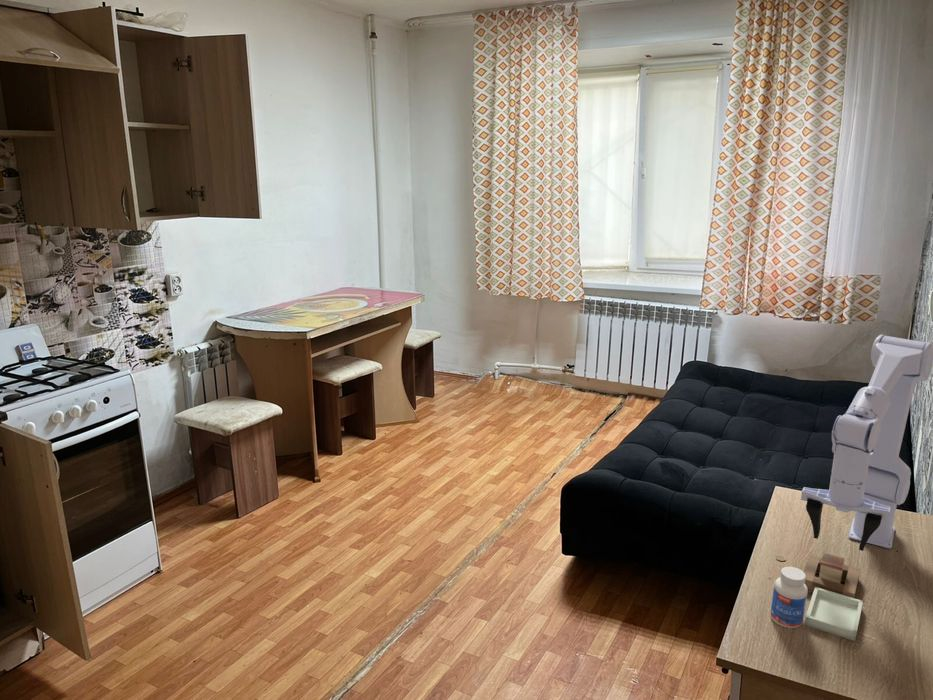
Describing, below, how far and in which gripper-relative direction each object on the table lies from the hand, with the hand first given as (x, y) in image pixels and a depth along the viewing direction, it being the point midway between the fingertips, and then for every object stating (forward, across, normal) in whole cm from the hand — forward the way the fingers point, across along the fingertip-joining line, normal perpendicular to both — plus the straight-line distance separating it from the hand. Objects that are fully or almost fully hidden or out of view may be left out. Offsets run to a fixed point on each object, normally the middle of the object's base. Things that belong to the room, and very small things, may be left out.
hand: (838, 541), depth 134 cm
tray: (+9, +2, -10) cm, 14 cm away
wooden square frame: (+9, 0, 0) cm, 9 cm away
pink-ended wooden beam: (+9, 0, -1) cm, 9 cm away
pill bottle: (+10, -5, -15) cm, 19 cm away
